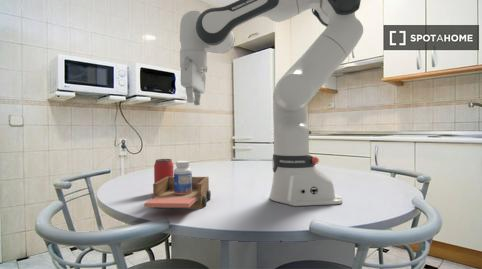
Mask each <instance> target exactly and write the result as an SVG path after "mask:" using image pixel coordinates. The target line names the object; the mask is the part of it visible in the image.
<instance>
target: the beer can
mask: <svg viewBox="0 0 482 269" xmlns="http://www.w3.org/2000/svg"><path fill="white" fill-rule="evenodd" d="M153 176H154V177H153V178H154V179H153V181H154V182H153V184H154V183H156V182H158V181H160V180H161V179H163V178H165V177H174V163H173V159H172V158H160V159H159V158H157V159H155V162H154V165H153Z"/></svg>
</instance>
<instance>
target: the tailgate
mask: <svg viewBox="0 0 482 269" xmlns="http://www.w3.org/2000/svg"><path fill="white" fill-rule="evenodd" d="M152 198H153V197H152ZM152 198H151V199H149V200H147V201H145V202H143V203H144V204H143V208H154V207H190V206H191V205H192V204H193V203H194V202H196V201H198V197H197V196H155V197H154V198H153V199H152Z"/></svg>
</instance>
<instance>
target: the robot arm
mask: <svg viewBox="0 0 482 269" xmlns="http://www.w3.org/2000/svg"><path fill="white" fill-rule="evenodd" d="M361 1H362V0H237V1H234V2H232V3H230V4H228V5H225V6H219V7H212V8H211V7H210V8H207V9H205V10H203V11H201V10H192V11H191V10H190V11H187V12H186V13H184V14H183V15H182V17H181V19H180V23H179V24H180V26H179V42H180V50H179V67H180V85H181V86H182V87H183V88H185V94H186V102H187V103H189V104H193V105H195V106H200V104H201V98H202V94H204V93H205V91H206V79H207V78H206V77H207V76H206V74H207V73H208V65H207V64H208V63H207V62H208V60H207V59H208V57H207V56H208V55H207V53H208V52H209V53H212V54H213V53H214V54H227V53H228V52H230V51H231V50H232V49H233V47H234V45H235V40H236V39H235V35H234V32H233V30H234V29H235V28H237V27H239V26H241V25H243V24H246V23H247V22H249V21H252V20H254V19H256V18H260V17H261V18H262V17H265V18H268V19H270V21H272V22H277V23H281V22H285V21H287V20H290V19H292V18H294V17H296V16H297V15H300V14H302V13H303V12H305V11H307V10H309V9H310V10H311V12H312V13H311V14H313V15H314V17H316V19H317V20H318V21H319V23H320V24H321V25H322V26H324V27H325V29H324V30H323V32H321V33H320V35H319V36H318V37H317V38H316V39H315V40H314V42H313V43H312V44H311V45H310V46H309V47H308V48H307V49H306V51H305V52H304V53H303V54H302V55H301V56H300V57H299V58H298V59H297V60H296V61H295V62H294V64H293V65H292V66H290V68H289V69H288V70H287V71H286V72H285V73H284V74H283V76H281V78H280V79H278V81H277V83H276V85H275V88H274V91H273V93H272V94H273V95H272V101H273V103H272V107H273V108H272V109H273V154H272V162H271V163H272V172H273V176H272V183H271V189H270V194H269V199H270V200H271V201H274V202H277V203H281V204H286V205H290V206H292V207H293V206H294V207H301V206H302V207H303V206H322V205H324V206H325V205H339V204H340V205H341V204H342V203H343V198H342V196H341V195H340V194H339V193H337V192H335V187H334V183H333V181H332V179H331V178H330V177H329V176H327V174H325V173H324V172H323V171H321V170H320V169H319V168H317V167H316V165H317V164H319V162H320V159H319V157H316V156H312V155H311V154H310V148H309V147H310V139H309V138H310V133H309V132H310V130H309V123H308V117H307V116H308V115H307V105H308V104H309V102H310V101H311V100H312V99H313V98H314V97H315V95H317V93H318V92H319V91H320V90H321V89H322V87H323V86H324V84H326V83H327V81H328V79H329V78H330V77H331V76H332V75H333V74H334V73H335V72H336V71H337V69H338V68H339V67H340V66H341V65H342V63H344V61H346V59H347V58H348V57H349V55H350V54H351V53H352V52H353V50H354V49H355V48H356V46H357V45H358V43H359V42H360V40H361V39H362V36H363V33H364V25H363V24H362V22H361V20H360V19H359V18H358V17H356V12H357V11H358V10H359V9H360V7H361V3H362V2H361Z"/></svg>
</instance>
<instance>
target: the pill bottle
mask: <svg viewBox="0 0 482 269" xmlns="http://www.w3.org/2000/svg"><path fill="white" fill-rule="evenodd" d="M175 166H176V167H175V169H173V171H174V193H175V194H178V195H185V194H190V193H191V192H192V177H193V176H192V175H193V174H192V173H193V170H192V169H191V168H190V161H189V160H177V161H176V162H175Z"/></svg>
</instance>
